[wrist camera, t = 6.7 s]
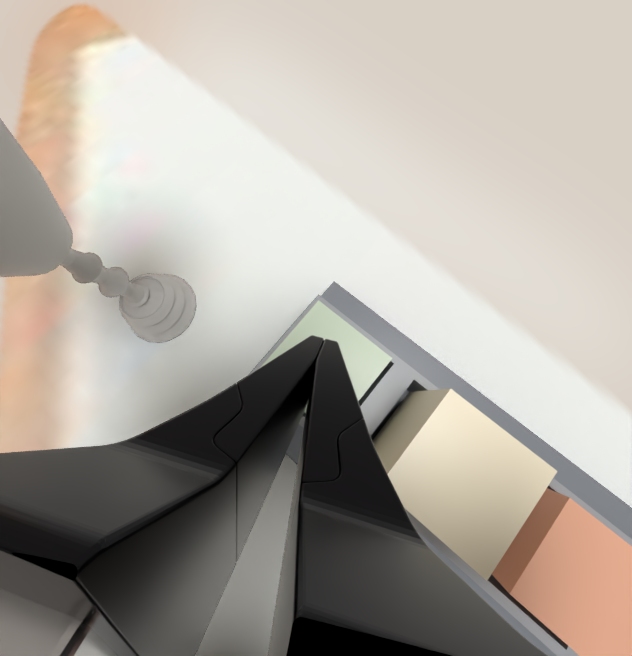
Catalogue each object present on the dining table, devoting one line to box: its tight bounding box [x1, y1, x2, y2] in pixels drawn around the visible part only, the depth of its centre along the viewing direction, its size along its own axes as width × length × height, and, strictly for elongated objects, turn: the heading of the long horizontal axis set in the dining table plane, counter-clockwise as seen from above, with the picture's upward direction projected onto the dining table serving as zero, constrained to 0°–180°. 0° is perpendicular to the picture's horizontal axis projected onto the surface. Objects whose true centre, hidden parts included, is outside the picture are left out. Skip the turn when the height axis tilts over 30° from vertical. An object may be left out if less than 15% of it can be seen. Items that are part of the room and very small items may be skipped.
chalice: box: [0, 119, 196, 343], centre depth 13 cm, size 7×7×18 cm
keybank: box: [250, 282, 632, 656], centre depth 16 cm, size 25×10×5 cm, turn 50°
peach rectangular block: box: [492, 488, 632, 656], centre depth 13 cm, size 4×4×6 cm
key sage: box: [261, 300, 392, 413], centre depth 15 cm, size 4×4×6 cm
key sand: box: [372, 389, 557, 581], centre depth 12 cm, size 4×4×6 cm
